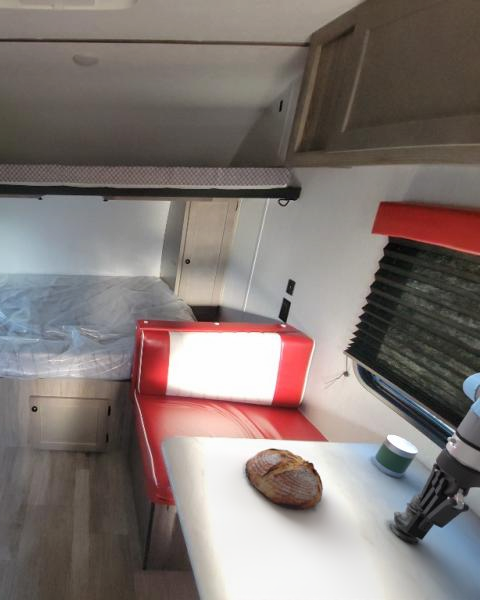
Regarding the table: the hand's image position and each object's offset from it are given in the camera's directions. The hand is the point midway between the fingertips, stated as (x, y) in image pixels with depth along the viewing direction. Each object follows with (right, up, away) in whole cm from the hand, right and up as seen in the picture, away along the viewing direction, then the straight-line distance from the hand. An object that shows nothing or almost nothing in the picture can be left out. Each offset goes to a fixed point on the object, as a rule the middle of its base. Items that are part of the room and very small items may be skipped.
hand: (413, 533), depth 78 cm
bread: (-23, +4, +14) cm, 27 cm away
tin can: (+16, +3, +24) cm, 29 cm away
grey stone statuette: (+1, -3, +4) cm, 5 cm away
